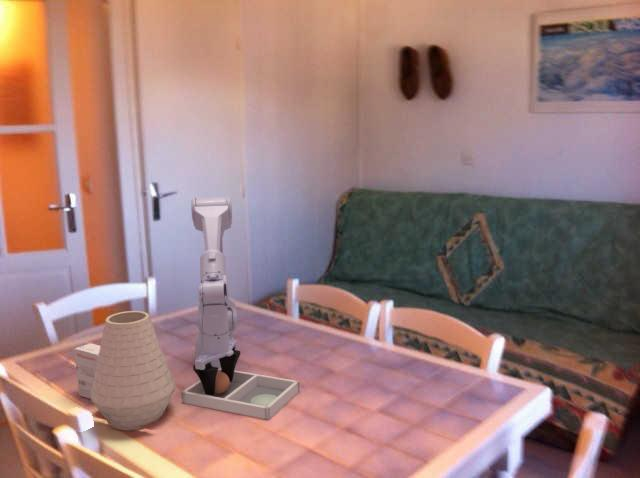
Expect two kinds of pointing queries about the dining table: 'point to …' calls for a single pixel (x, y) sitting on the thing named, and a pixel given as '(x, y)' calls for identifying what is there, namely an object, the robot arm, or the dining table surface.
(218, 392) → the ball
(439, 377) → the dining table surface
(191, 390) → the tray
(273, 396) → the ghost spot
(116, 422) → the vase
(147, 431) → the dining table surface
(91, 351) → the ink box
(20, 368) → the dining table surface
